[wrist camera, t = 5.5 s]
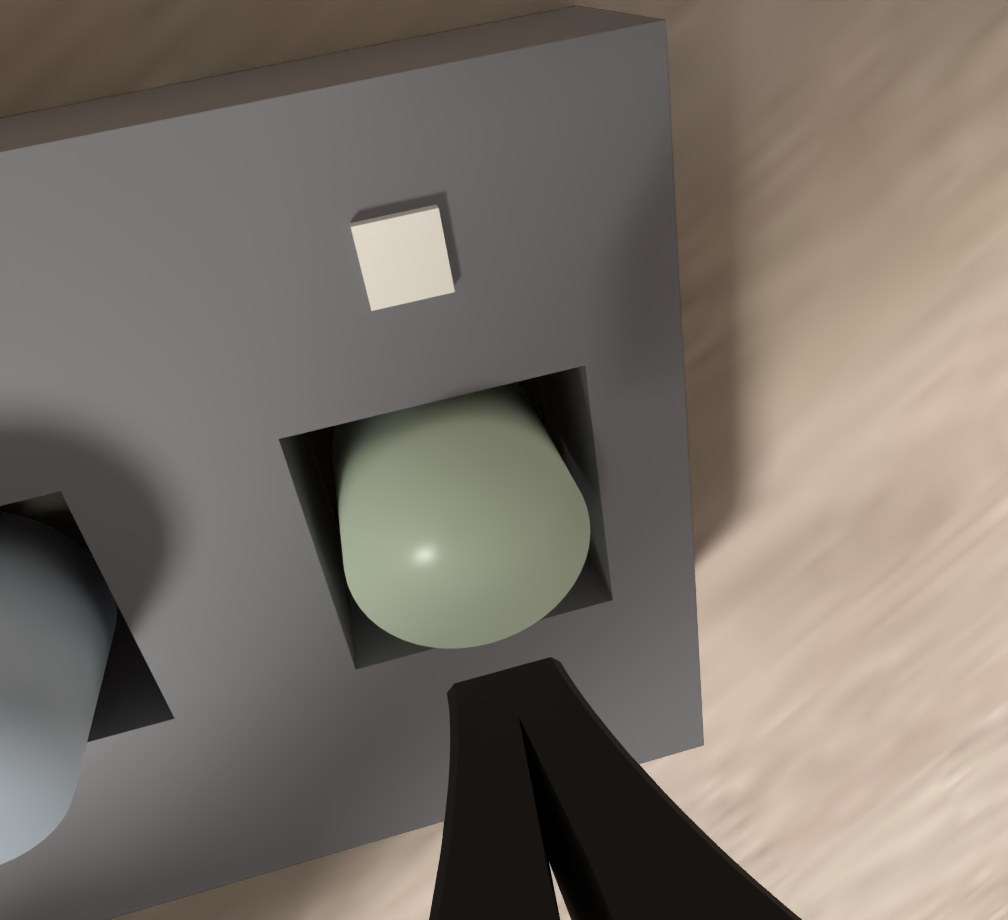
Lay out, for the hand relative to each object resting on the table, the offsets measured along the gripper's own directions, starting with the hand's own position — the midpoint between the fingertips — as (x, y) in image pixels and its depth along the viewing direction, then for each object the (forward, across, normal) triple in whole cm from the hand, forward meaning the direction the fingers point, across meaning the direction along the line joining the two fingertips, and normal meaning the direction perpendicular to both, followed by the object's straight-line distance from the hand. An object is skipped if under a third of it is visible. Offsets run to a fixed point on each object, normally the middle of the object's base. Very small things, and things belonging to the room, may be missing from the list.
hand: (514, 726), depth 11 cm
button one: (+7, 0, 0) cm, 7 cm away
